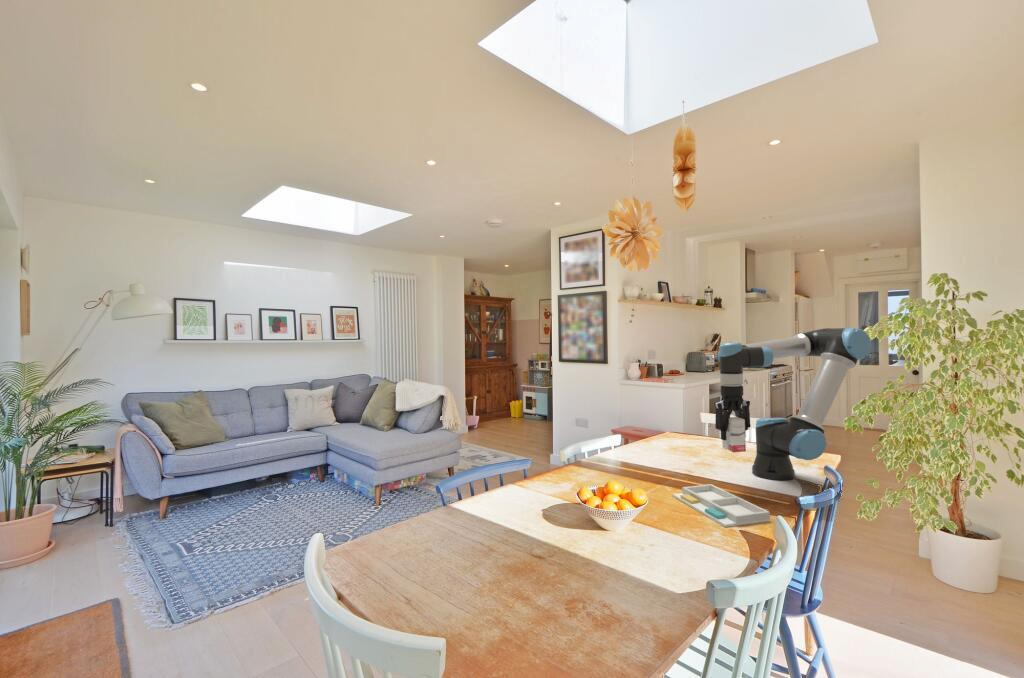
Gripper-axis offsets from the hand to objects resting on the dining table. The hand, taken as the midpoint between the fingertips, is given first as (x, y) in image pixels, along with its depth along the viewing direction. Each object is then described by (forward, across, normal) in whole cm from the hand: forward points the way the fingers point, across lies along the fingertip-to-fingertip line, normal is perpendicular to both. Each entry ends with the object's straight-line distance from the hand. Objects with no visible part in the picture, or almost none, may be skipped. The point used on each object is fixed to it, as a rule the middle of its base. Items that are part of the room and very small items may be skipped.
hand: (733, 447), depth 170 cm
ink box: (+1, 0, 0) cm, 1 cm away
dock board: (+16, +16, +12) cm, 26 cm away
